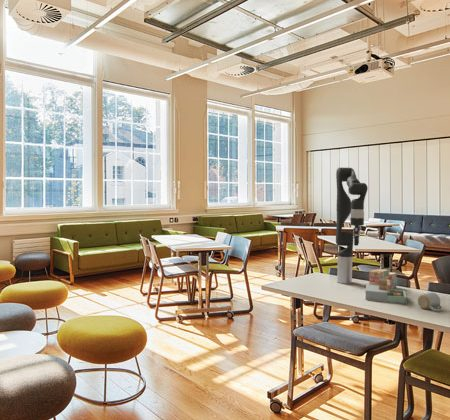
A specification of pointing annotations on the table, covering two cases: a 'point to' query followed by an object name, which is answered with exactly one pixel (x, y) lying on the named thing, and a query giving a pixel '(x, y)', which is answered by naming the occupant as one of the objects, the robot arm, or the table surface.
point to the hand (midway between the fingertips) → (356, 244)
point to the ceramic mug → (430, 301)
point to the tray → (397, 297)
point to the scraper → (384, 285)
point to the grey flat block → (375, 293)
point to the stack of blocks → (382, 277)
